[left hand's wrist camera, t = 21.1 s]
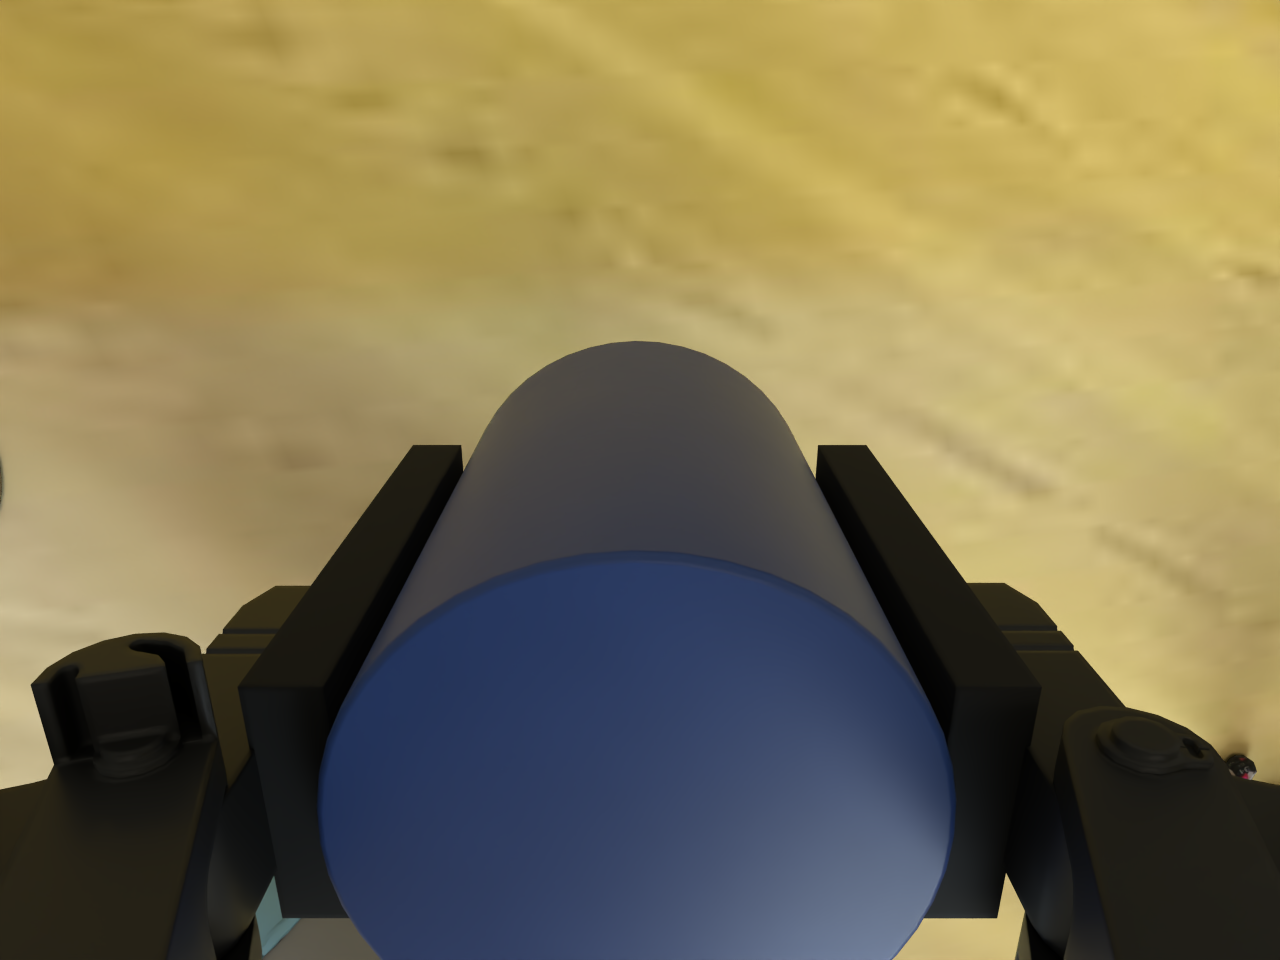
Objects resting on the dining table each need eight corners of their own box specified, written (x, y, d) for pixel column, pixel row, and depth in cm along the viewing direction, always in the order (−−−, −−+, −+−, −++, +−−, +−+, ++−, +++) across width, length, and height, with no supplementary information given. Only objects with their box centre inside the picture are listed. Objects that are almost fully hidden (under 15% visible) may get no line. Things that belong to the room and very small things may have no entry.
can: (723, 690, 16) (790, 1121, 9) (427, 588, 15) (247, 974, 8) (865, 416, 14) (1085, 692, 7) (535, 285, 13) (419, 449, 6)
